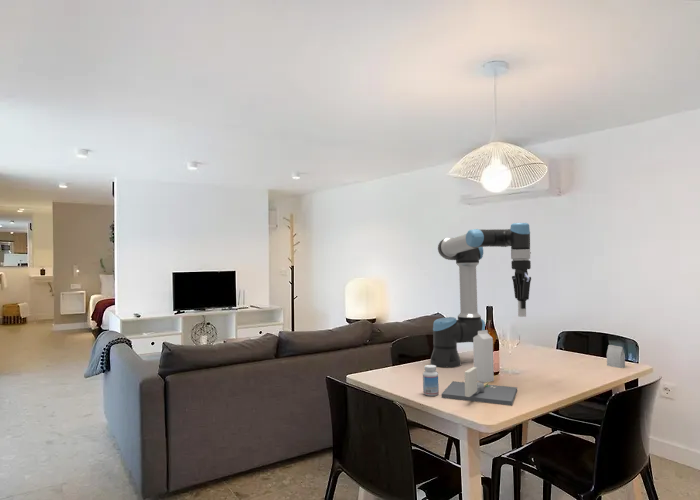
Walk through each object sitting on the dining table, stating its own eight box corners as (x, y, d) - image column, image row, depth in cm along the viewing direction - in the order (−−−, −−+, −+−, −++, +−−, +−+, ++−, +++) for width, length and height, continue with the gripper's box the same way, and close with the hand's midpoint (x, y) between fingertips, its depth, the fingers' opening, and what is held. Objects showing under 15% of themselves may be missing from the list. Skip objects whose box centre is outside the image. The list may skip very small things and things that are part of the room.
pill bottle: (441, 394, 185) (441, 366, 185) (430, 397, 181) (429, 368, 182) (431, 391, 190) (430, 363, 190) (420, 393, 186) (419, 365, 187)
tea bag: (620, 368, 223) (620, 347, 224) (606, 365, 229) (606, 345, 229) (625, 367, 225) (624, 346, 225) (611, 364, 231) (610, 344, 231)
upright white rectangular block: (483, 383, 193) (483, 359, 193) (492, 384, 191) (492, 359, 191) (462, 399, 172) (461, 371, 173) (471, 400, 170) (471, 372, 171)
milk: (493, 381, 204) (493, 330, 204) (483, 383, 201) (483, 331, 201) (483, 378, 209) (482, 328, 210) (473, 379, 206) (472, 330, 207)
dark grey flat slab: (441, 397, 181) (441, 393, 181) (452, 384, 199) (452, 380, 199) (511, 405, 170) (511, 400, 170) (517, 391, 188) (517, 386, 188)
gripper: (537, 259, 188) (538, 318, 188) (522, 259, 201) (523, 314, 201) (519, 260, 188) (520, 318, 187) (505, 260, 201) (506, 314, 200)
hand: (522, 316), depth 194 cm, fingers closed
